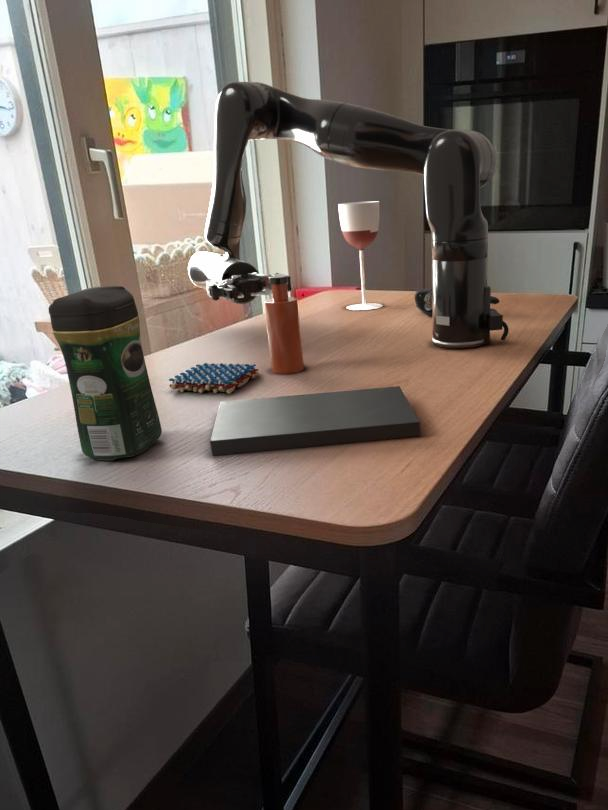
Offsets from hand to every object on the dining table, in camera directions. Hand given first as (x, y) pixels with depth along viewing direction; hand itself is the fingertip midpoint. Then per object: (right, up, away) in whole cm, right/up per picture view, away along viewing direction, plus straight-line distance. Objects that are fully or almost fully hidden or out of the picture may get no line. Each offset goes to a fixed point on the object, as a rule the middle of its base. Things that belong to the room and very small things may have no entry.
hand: (260, 291), depth 117 cm
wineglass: (+18, +8, +42) cm, 46 cm away
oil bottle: (+5, -14, -5) cm, 15 cm away
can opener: (+36, +2, +27) cm, 45 cm away
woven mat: (-5, -17, -10) cm, 20 cm away
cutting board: (+11, -25, -30) cm, 40 cm away
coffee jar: (-11, -28, -33) cm, 45 cm away
